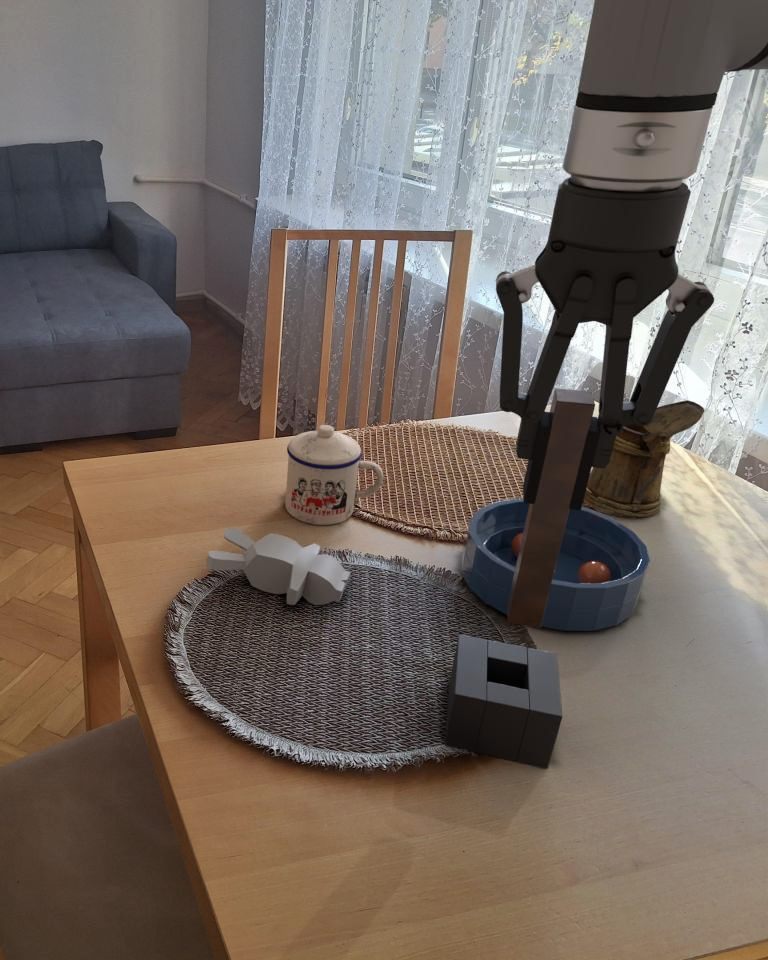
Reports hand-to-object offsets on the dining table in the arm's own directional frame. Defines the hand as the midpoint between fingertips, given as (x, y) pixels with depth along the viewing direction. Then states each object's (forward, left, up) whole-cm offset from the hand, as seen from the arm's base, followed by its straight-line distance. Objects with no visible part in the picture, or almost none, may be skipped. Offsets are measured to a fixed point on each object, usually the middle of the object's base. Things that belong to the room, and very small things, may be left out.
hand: (551, 497), depth 66 cm
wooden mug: (-15, -44, -24) cm, 52 cm away
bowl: (-5, -24, -24) cm, 34 cm away
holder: (0, 0, -24) cm, 24 cm away
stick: (0, 0, -12) cm, 12 cm away
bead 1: (-3, -28, -21) cm, 35 cm away
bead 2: (-9, -24, -21) cm, 33 cm away
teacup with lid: (+20, -33, -24) cm, 45 cm away
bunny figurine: (+23, -15, -24) cm, 36 cm away
